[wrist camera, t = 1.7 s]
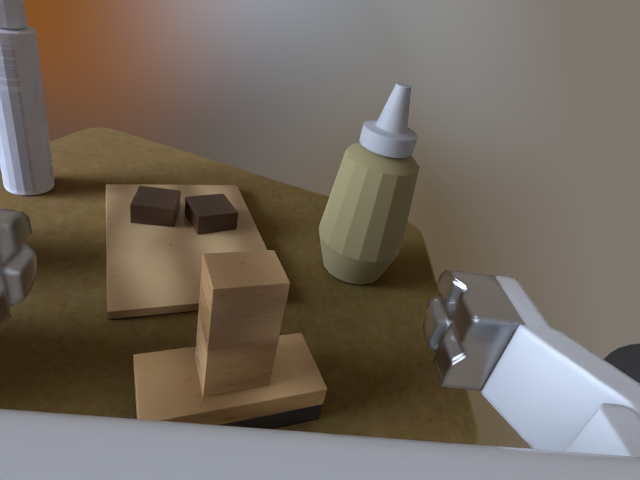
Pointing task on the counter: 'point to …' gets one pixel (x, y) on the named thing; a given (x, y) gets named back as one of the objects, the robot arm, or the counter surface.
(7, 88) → the bottle
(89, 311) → the counter surface
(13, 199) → the counter surface
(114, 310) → the board
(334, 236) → the squeeze bottle
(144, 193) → the chip
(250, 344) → the brush
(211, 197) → the dark brown square block
